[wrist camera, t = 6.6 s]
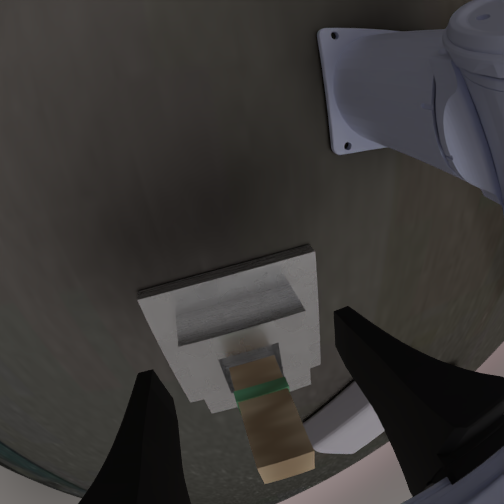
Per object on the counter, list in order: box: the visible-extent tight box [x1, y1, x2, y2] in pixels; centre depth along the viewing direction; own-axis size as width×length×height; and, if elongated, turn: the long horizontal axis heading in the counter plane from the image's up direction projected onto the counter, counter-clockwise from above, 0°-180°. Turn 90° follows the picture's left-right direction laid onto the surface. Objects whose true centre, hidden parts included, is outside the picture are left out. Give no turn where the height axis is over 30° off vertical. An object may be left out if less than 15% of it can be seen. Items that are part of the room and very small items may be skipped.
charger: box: [303, 381, 385, 454], centre depth 33 cm, size 5×9×15 cm
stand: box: [137, 244, 321, 413], centre depth 23 cm, size 12×12×4 cm
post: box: [229, 355, 315, 484], centre depth 18 cm, size 3×3×7 cm
